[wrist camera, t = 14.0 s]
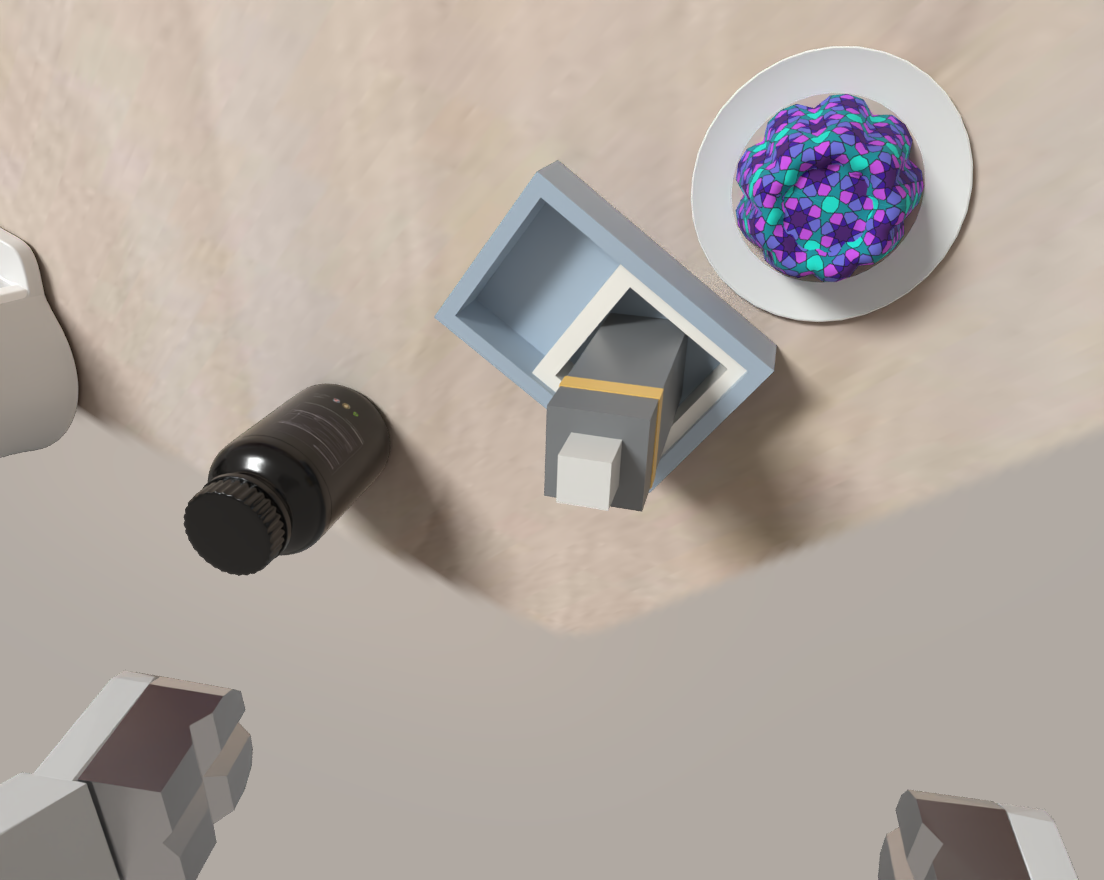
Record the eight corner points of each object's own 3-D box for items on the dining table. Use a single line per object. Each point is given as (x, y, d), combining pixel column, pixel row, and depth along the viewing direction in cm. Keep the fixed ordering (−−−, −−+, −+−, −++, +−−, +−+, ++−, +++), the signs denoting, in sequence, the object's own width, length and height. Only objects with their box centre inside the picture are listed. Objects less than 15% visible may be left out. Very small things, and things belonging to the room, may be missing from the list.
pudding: (746, 9, 37) (737, 8, 32) (1024, 93, 35) (1055, 103, 31) (659, 270, 43) (641, 300, 38) (895, 350, 41) (906, 391, 37)
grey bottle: (604, 386, 45) (528, 521, 33) (609, 311, 43) (531, 425, 31) (682, 396, 44) (634, 539, 32) (690, 320, 42) (642, 441, 30)
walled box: (459, 296, 46) (434, 317, 43) (557, 159, 41) (537, 171, 38) (660, 461, 47) (649, 492, 44) (776, 345, 42) (774, 371, 39)
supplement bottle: (367, 502, 53) (260, 618, 43) (275, 440, 53) (146, 543, 43) (413, 422, 50) (308, 528, 40) (315, 356, 50) (184, 445, 39)
